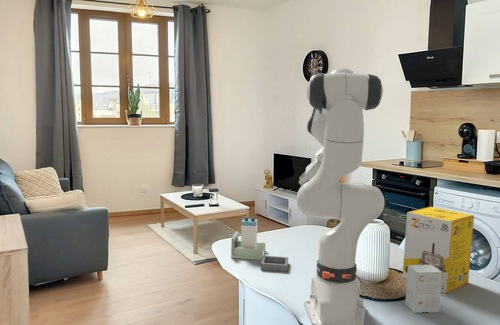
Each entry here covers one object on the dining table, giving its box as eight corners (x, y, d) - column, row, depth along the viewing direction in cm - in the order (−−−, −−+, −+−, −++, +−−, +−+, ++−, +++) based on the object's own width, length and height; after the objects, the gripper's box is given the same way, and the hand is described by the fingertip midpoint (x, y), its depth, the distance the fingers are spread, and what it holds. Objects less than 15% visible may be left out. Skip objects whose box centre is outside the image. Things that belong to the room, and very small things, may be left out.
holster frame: (287, 271, 153) (287, 265, 153) (260, 269, 155) (260, 263, 154) (288, 263, 162) (288, 257, 162) (263, 261, 164) (263, 255, 163)
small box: (428, 303, 130) (431, 264, 128) (439, 312, 124) (443, 271, 122) (404, 303, 129) (407, 264, 128) (414, 313, 123) (417, 272, 121)
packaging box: (402, 278, 150) (406, 211, 147) (425, 268, 160) (430, 206, 157) (445, 293, 137) (451, 221, 134) (468, 282, 147) (474, 215, 144)
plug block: (255, 254, 169) (255, 219, 167) (240, 253, 170) (241, 218, 168) (256, 250, 174) (257, 216, 172) (242, 249, 175) (243, 215, 173)
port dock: (262, 260, 165) (262, 241, 164) (231, 257, 167) (231, 239, 166) (265, 250, 177) (265, 232, 176) (236, 248, 179) (236, 230, 178)
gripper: (318, 151, 177) (295, 172, 180) (320, 156, 157) (293, 179, 160) (328, 162, 177) (305, 183, 180) (331, 168, 157) (304, 191, 160)
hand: (299, 181), depth 170 cm, fingers open, 8 cm apart
